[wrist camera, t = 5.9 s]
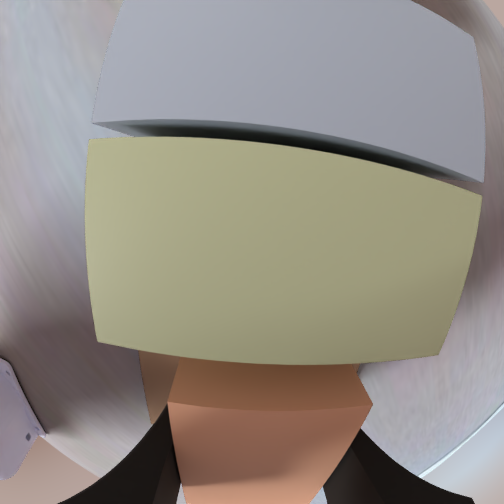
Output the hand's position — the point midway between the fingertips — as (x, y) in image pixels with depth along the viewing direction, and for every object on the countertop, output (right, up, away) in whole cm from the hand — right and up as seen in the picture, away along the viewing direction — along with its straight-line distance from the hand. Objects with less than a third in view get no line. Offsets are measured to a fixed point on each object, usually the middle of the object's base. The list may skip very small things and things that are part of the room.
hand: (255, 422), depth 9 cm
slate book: (+1, +12, 0) cm, 12 cm away
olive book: (+1, +8, +2) cm, 8 cm away
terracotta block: (0, +1, +3) cm, 3 cm away
